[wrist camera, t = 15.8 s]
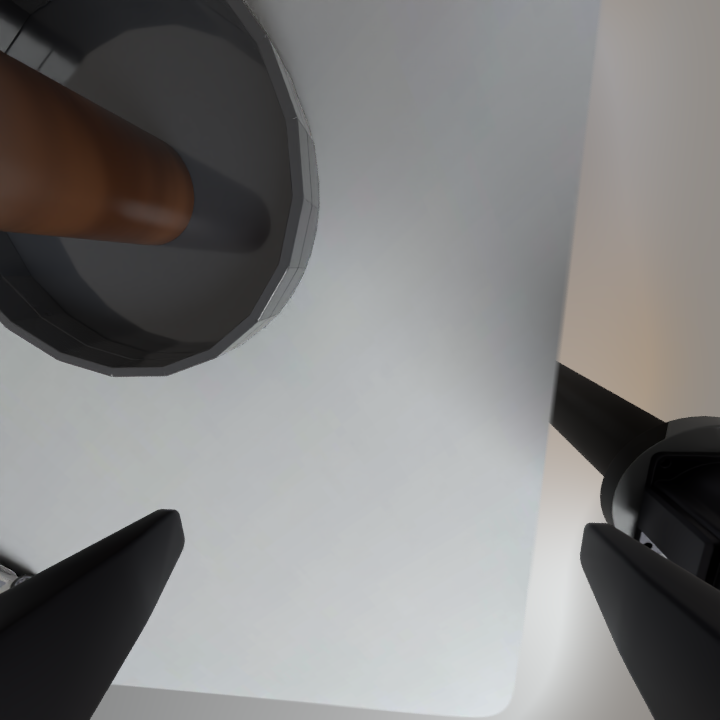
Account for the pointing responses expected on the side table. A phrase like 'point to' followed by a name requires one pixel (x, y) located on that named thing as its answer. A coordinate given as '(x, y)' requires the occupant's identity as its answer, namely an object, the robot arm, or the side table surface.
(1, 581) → the toy car
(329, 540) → the side table surface
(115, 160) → the pepper mill
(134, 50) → the pan
